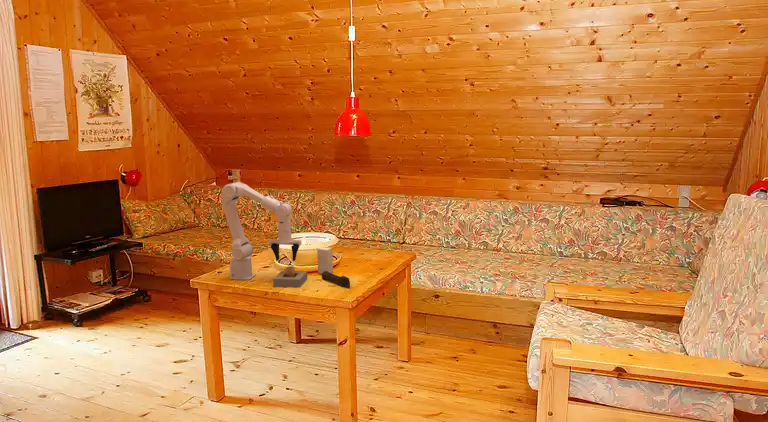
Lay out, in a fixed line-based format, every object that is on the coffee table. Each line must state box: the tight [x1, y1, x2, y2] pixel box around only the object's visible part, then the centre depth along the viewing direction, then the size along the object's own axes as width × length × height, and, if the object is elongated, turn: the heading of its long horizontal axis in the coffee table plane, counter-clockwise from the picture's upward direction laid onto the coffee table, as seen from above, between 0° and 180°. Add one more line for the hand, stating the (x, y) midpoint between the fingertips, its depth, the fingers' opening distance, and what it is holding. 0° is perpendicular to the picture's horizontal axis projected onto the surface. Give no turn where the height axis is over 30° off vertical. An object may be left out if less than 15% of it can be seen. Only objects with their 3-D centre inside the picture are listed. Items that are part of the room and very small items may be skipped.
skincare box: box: [316, 246, 334, 274], centre depth 259 cm, size 6×4×12 cm
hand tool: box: [321, 271, 351, 289], centre depth 244 cm, size 19×4×5 cm, turn 38°
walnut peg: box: [284, 265, 296, 277], centre depth 246 cm, size 4×4×6 cm
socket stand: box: [272, 270, 308, 288], centre depth 246 cm, size 12×12×4 cm
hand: (285, 260), depth 249 cm, fingers open, 7 cm apart
